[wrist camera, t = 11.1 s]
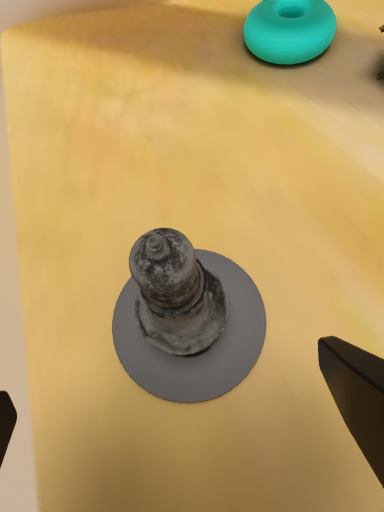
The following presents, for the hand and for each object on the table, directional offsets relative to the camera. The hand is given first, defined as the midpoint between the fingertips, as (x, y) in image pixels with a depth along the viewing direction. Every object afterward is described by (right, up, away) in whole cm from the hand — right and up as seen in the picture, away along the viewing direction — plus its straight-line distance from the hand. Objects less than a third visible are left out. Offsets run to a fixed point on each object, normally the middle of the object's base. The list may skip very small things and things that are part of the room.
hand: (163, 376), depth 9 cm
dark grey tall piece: (0, -1, +13) cm, 13 cm away
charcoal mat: (+1, -1, +14) cm, 14 cm away
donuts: (+12, +28, +27) cm, 41 cm away
